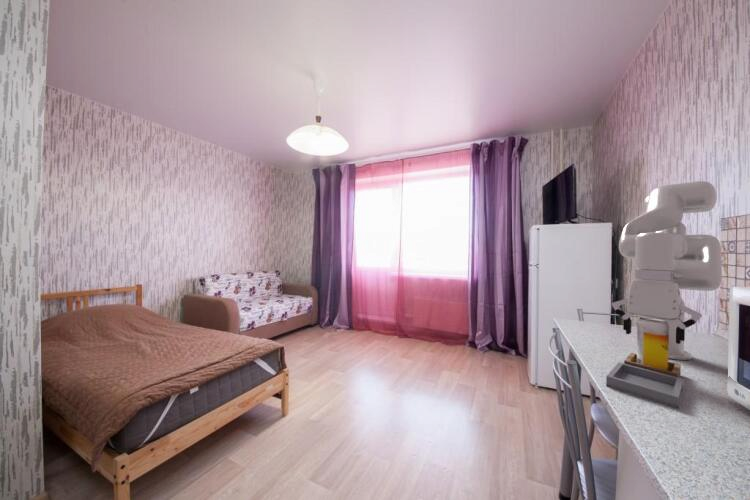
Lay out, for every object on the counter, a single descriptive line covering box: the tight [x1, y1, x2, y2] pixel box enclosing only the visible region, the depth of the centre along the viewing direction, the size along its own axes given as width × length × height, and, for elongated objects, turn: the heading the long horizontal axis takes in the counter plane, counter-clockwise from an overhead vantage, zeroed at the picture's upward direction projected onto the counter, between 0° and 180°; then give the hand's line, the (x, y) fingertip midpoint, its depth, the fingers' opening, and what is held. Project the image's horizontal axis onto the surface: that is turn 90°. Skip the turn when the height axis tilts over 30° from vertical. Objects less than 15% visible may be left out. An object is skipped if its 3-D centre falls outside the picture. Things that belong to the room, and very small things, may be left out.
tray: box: [605, 361, 684, 410], centre depth 66 cm, size 14×12×2 cm
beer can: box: [636, 317, 669, 371], centre depth 74 cm, size 6×6×15 cm
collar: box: [623, 352, 682, 378], centre depth 74 cm, size 10×10×3 cm
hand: (652, 337), depth 74 cm, fingers open, 9 cm apart
